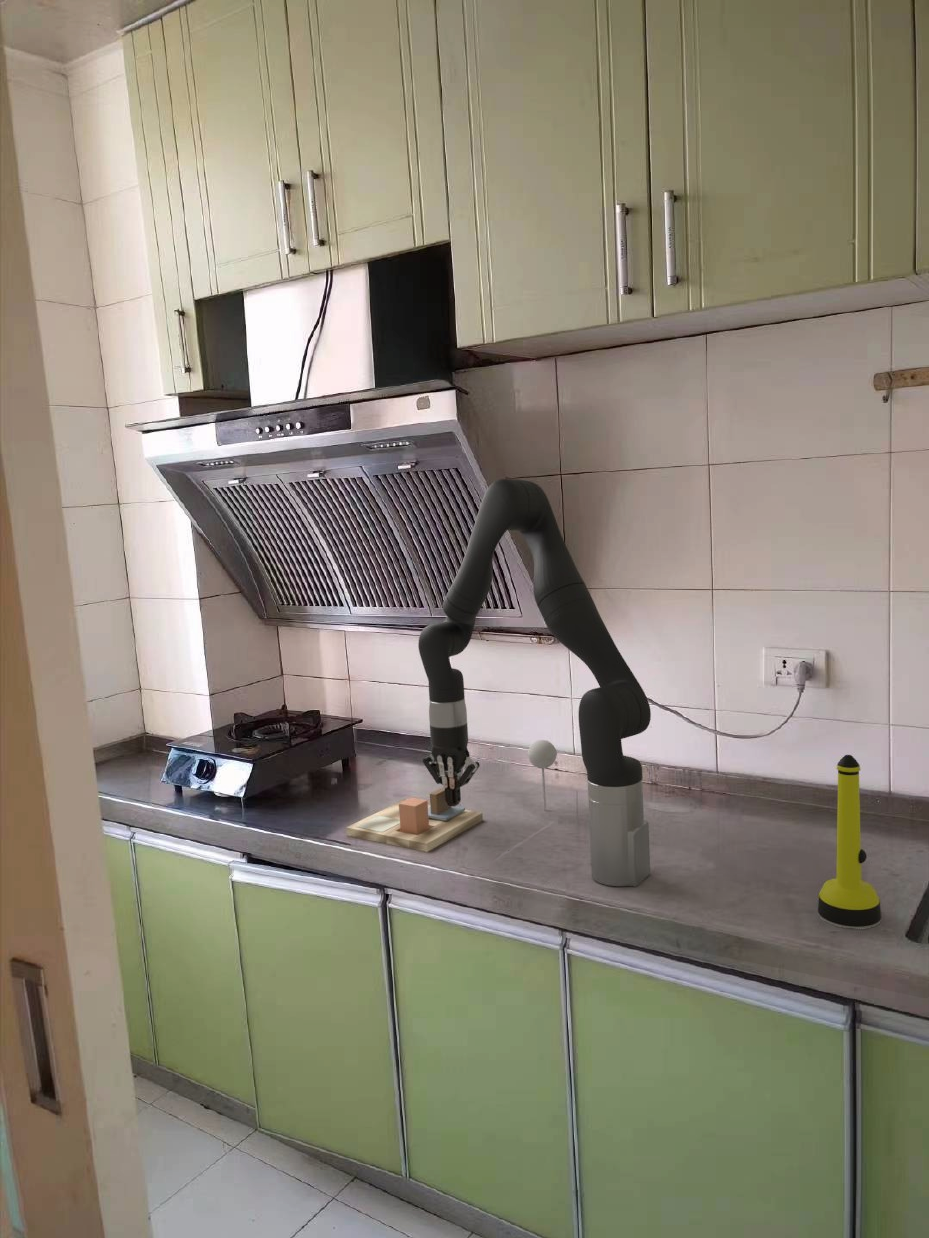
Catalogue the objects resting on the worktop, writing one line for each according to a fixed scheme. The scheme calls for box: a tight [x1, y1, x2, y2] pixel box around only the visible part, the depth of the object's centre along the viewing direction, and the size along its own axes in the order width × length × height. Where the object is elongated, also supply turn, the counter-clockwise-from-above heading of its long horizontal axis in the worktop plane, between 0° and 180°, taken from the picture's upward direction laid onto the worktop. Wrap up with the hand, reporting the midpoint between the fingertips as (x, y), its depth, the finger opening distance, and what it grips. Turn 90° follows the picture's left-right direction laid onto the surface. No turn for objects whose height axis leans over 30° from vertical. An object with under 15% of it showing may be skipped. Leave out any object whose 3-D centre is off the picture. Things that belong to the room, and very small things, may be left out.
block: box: [399, 797, 429, 835], centre depth 184 cm, size 4×4×7 cm
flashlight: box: [817, 754, 882, 930], centre depth 140 cm, size 25×9×9 cm
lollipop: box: [527, 739, 558, 811], centre depth 195 cm, size 6×6×15 cm
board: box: [345, 798, 484, 853], centre depth 189 cm, size 20×19×2 cm
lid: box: [428, 786, 466, 821], centre depth 191 cm, size 7×7×5 cm
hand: (453, 804), depth 190 cm, fingers closed
